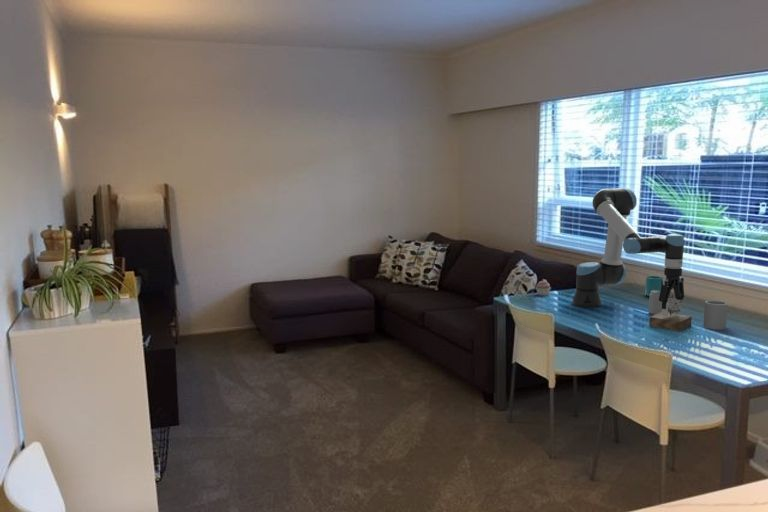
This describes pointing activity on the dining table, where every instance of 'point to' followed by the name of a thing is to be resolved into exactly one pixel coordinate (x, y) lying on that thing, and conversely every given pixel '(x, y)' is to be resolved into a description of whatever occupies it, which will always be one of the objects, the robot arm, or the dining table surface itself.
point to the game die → (673, 305)
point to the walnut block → (670, 321)
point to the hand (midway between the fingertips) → (670, 314)
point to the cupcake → (543, 288)
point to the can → (655, 302)
